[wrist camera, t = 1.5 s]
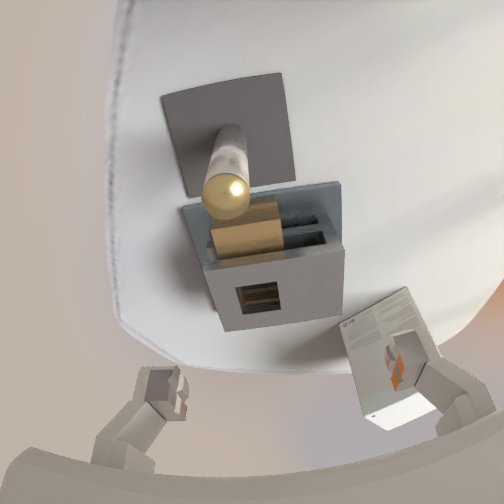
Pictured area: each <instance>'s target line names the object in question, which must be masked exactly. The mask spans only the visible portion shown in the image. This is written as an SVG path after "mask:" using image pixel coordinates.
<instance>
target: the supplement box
mask: <svg viewBox="0 0 504 504" xmlns="http://www.w3.org/2000/svg"><path fill="white" fill-rule="evenodd" d="M420 326H425V327H426V328H427V330H428V331H429V333H430V335H431V337H432V339H433V341H434V338H433V336H432V334H431V332H430V330H429V328H428V326H427V324H426V322H425V320H424V318H423V316H422V314H421V312H420V310H419V308H418V306H417V304H416V302H415V300H414V298H413V296H412V295H411V293H410V291H409V289H408V287H404V288H403V289H401V290H399V291H398V292H396V293H394V294H392V295H391V296H389V297H387V298H385V299H384V300H382V301H380V302H378V303H377V304H375V305H373V306H371V307H369V308H368V309H366V310H364V311H362V312H360V313H358V314H356V315H355V316H353V317H351V318H349V319H347V320H345V321H343V322H341V323H340V324H339V327H340V331H341V334H342V338H343V341H344V345H345V348H346V352H347V355H348V359H349V362H350V366H351V370H352V373H353V377H354V381H355V385H356V389H357V393H358V397H359V401H360V405H361V409H362V413H363V416H364V417H365V418H367V419H368V420H370V421H372V422H373V423H375V424H377V425H378V426H380V427H382V428H384V429H385V430H387V431H388V430H391V429H393V428H395V427H398V426H400V425H402V424H405V423H407V422H409V421H411V420H413V419H415V418H418V417H420V416H422V415H424V414H426V413H428V412H430V411H432V410H434V409H436V407H435V406H434V405H433V404H431V403H430V402H429V401H428V400H427V399H426V398H425V397H424V396H422V395H421V394H420V393H419V392H418V391H417V390H416V389H415V387H413V388H410V389H406V390H402V391H398V392H395V390H394V387H393V384H392V381H391V376H392V372H391V371H389V370H388V369H387V366H386V362H385V348H386V346H387V345H388V341H387V339H388V336H389V335H390V334H394V333H397V332H401V331H405V330H409V329H414V328H417V327H420ZM434 344H435V346H436V348H437V350H438V352H439V354H440V351H439V349H438V347H437V345H436V343H435V341H434ZM440 356H441V354H440ZM441 358H442V356H441Z"/></svg>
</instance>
